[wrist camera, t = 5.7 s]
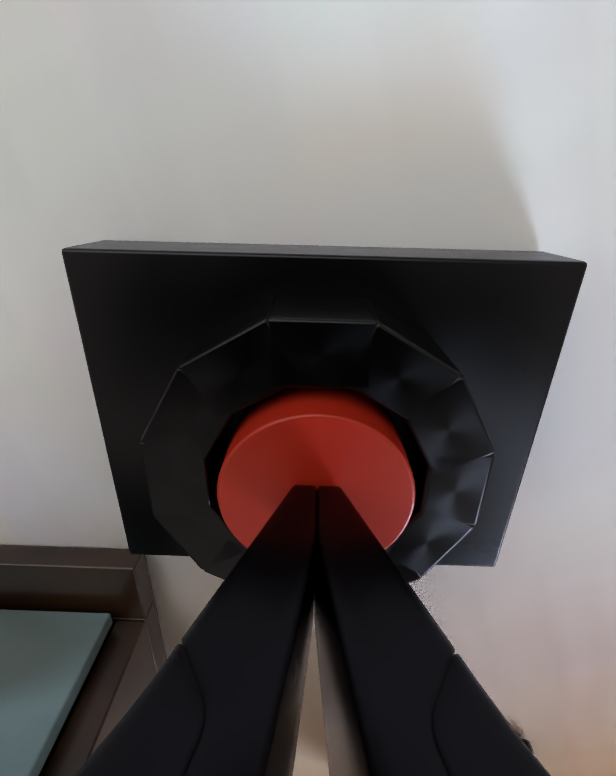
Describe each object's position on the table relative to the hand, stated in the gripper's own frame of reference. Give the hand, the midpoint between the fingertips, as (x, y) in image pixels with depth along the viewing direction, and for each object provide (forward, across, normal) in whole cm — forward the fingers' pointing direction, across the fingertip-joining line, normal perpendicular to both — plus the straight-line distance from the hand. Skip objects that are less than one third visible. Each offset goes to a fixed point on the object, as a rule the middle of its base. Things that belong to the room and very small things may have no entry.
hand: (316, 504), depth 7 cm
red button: (+2, 0, 0) cm, 2 cm away
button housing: (+4, 0, 0) cm, 4 cm away
